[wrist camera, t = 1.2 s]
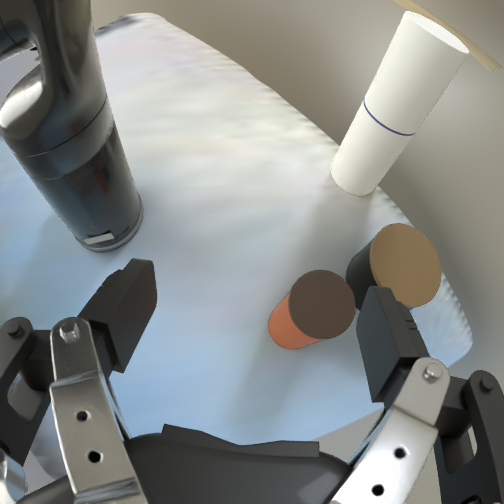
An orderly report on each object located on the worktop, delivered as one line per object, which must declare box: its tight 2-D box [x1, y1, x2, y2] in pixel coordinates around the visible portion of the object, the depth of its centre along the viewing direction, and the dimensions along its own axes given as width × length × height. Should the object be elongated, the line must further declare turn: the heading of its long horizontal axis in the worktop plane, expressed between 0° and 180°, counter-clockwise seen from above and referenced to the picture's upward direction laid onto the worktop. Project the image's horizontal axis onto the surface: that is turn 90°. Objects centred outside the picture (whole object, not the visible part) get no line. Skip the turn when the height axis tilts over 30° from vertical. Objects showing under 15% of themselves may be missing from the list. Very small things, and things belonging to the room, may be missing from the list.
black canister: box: [346, 223, 441, 311], centre depth 31 cm, size 9×9×7 cm
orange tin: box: [268, 270, 355, 349], centre depth 27 cm, size 5×5×10 cm
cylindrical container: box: [330, 11, 469, 196], centre depth 29 cm, size 7×7×25 cm
